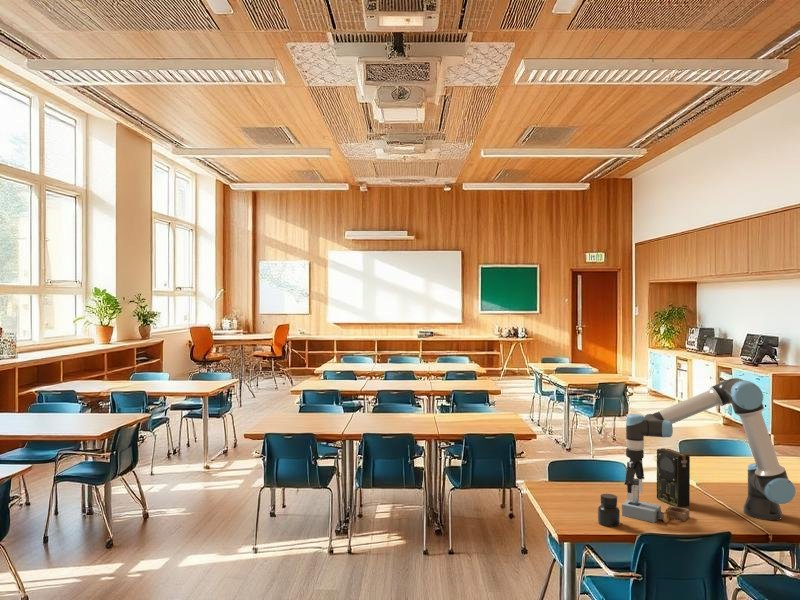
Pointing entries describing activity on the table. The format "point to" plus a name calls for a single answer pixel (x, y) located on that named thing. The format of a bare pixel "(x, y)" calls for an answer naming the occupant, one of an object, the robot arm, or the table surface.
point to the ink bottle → (609, 511)
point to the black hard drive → (673, 477)
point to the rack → (678, 513)
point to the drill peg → (635, 493)
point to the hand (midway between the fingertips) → (634, 496)
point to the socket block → (641, 511)
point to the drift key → (663, 516)
